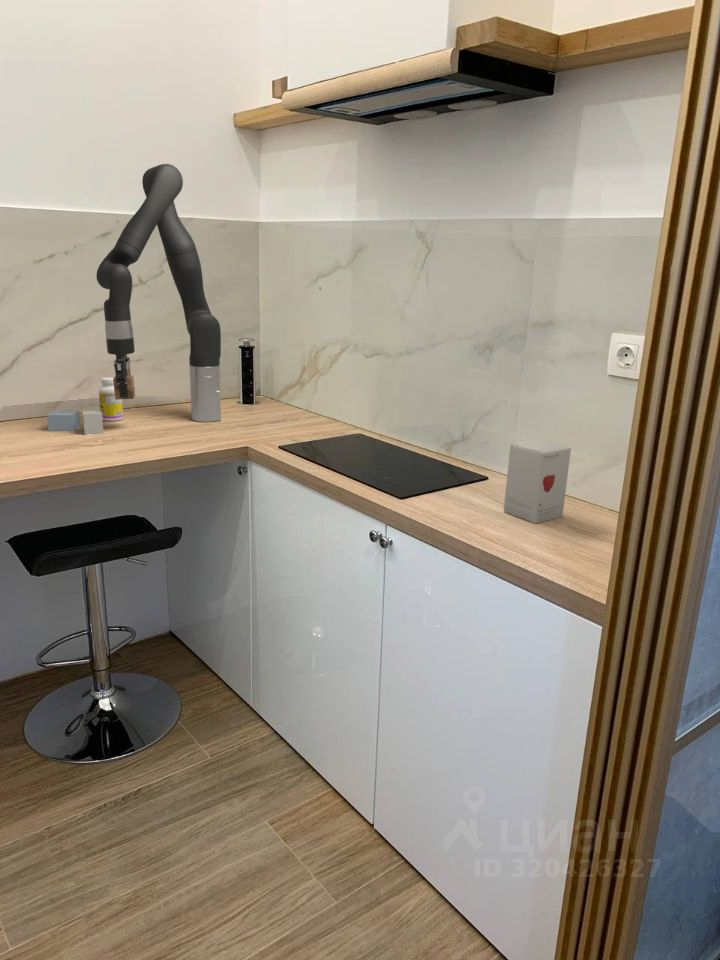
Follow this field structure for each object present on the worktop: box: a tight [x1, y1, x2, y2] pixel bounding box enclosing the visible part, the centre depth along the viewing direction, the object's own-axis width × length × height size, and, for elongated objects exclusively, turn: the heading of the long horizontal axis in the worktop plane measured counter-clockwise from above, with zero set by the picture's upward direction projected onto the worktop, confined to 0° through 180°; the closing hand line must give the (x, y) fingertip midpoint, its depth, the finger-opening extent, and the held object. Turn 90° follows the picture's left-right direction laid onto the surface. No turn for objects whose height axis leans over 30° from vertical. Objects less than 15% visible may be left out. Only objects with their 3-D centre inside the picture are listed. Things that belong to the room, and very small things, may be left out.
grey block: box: [81, 409, 104, 436], centre depth 208 cm, size 5×5×6 cm
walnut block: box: [112, 375, 136, 400], centre depth 211 cm, size 5×5×6 cm
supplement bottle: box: [98, 377, 124, 422], centre depth 224 cm, size 7×7×13 cm
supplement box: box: [503, 439, 572, 524], centre depth 150 cm, size 9×9×15 cm
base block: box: [46, 409, 82, 433], centre depth 212 cm, size 7×7×5 cm
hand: (125, 395), depth 212 cm, fingers closed on walnut block, 5 cm apart
